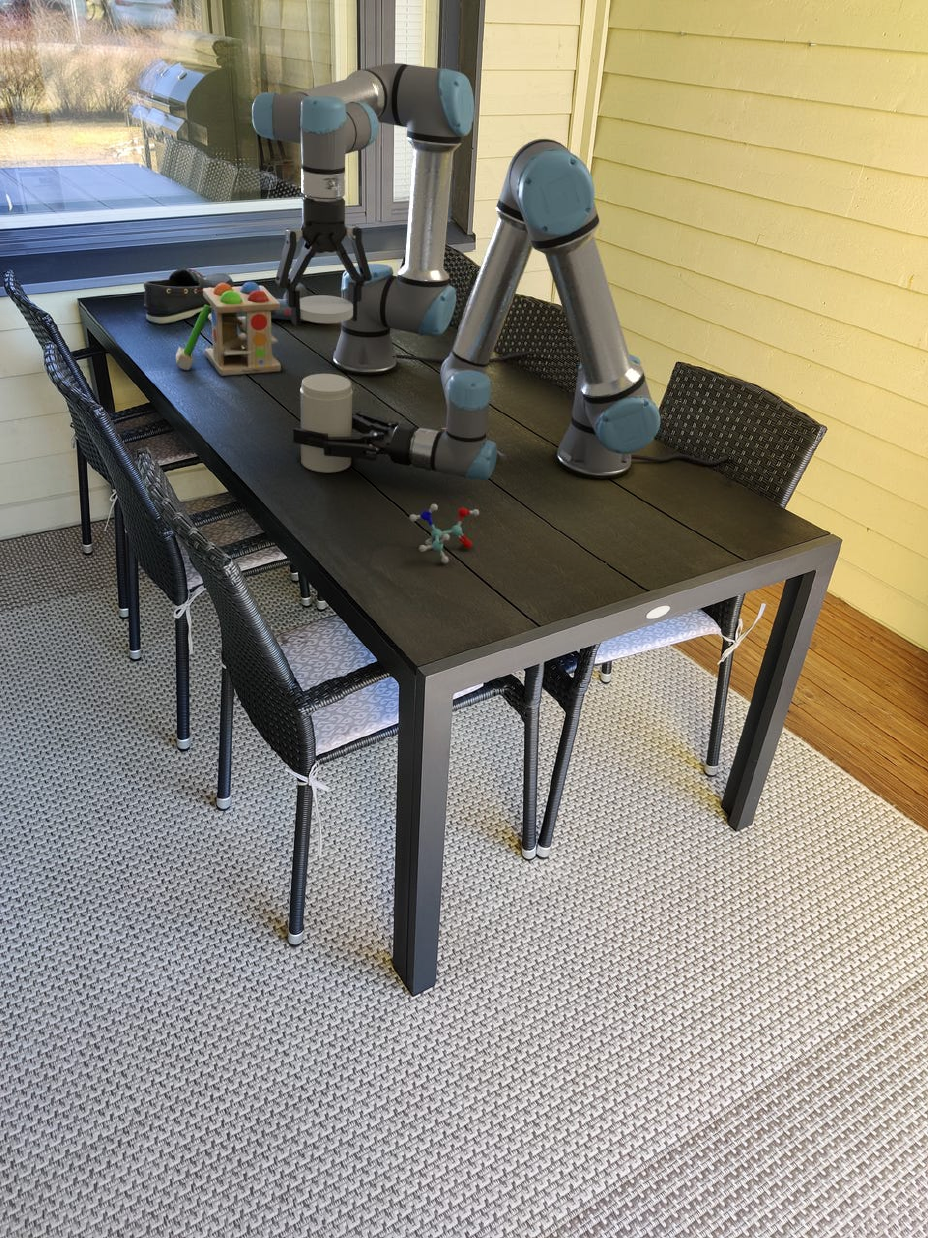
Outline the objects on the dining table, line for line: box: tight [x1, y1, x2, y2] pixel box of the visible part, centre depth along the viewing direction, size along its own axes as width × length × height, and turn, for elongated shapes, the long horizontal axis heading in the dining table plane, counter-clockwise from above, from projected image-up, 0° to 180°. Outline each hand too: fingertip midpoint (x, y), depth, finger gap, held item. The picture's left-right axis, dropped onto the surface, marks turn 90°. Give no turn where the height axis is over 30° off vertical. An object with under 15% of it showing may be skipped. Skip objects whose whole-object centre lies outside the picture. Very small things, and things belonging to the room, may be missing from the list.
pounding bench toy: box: [174, 281, 282, 377], centre depth 225 cm, size 23×14×18 cm, turn 116°
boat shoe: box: [143, 267, 235, 324], centre depth 260 cm, size 13×33×10 cm, turn 147°
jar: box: [299, 373, 354, 473], centre depth 188 cm, size 10×10×16 cm
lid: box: [300, 294, 353, 324], centre depth 183 cm, size 11×11×2 cm
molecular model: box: [408, 503, 480, 564], centre depth 166 cm, size 12×10×10 cm
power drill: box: [271, 282, 308, 322], centre depth 265 cm, size 5×19×20 cm
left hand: (324, 321), depth 184 cm, fingers closed on lid, 10 cm apart
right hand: (305, 425), depth 190 cm, fingers closed on jar, 10 cm apart
